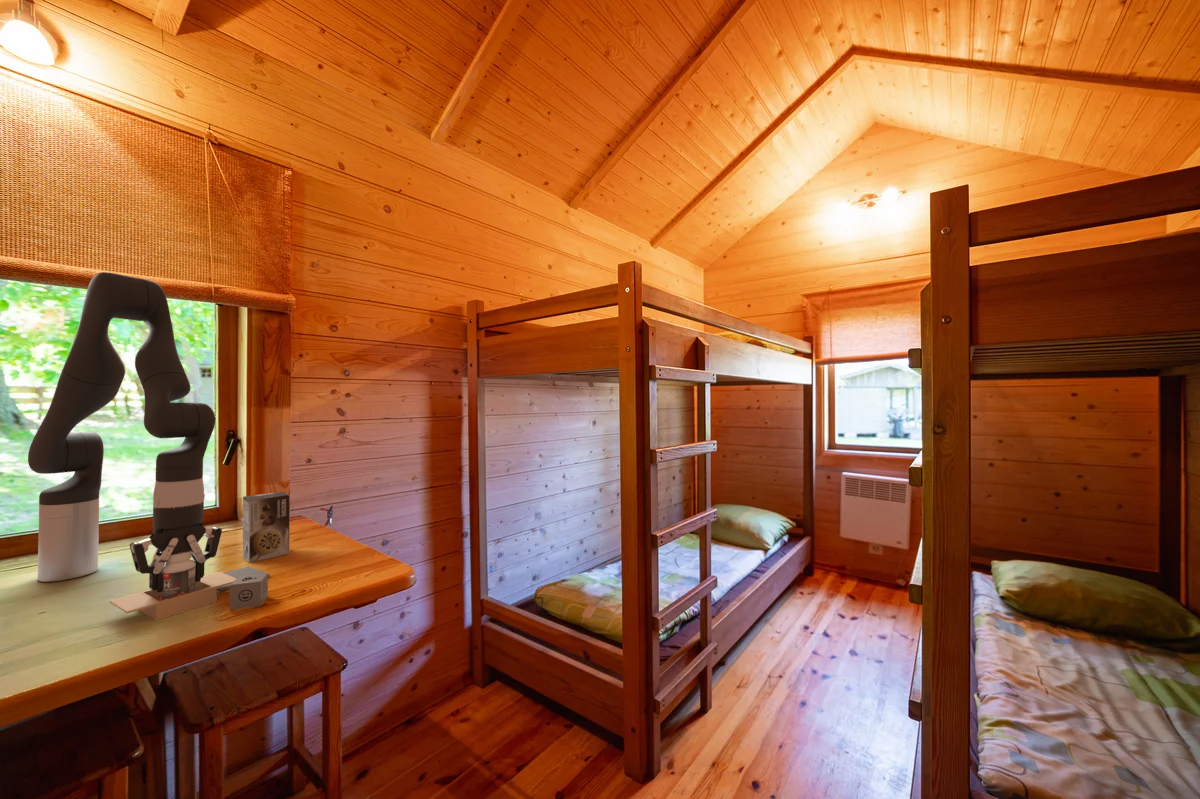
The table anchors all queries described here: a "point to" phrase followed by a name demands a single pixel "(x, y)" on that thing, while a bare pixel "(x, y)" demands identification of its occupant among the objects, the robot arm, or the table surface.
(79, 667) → the table surface
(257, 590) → the dice cube
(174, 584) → the pill bottle
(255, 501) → the coffee box
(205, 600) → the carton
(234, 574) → the mat
